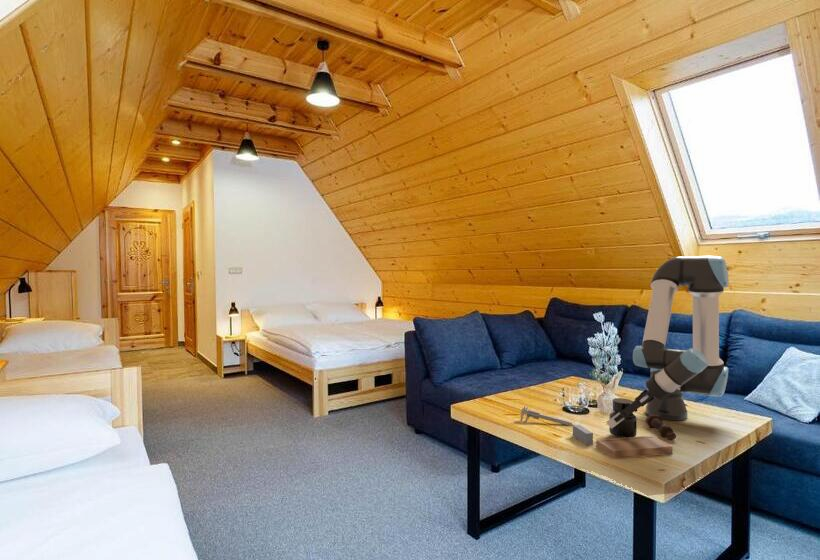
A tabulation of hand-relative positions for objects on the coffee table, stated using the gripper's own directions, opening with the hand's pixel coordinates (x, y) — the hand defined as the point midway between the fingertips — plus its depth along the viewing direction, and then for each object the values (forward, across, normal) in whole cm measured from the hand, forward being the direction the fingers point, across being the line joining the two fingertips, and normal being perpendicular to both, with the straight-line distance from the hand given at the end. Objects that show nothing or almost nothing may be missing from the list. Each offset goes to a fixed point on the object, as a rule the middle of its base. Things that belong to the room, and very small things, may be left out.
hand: (613, 421), depth 172 cm
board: (-3, -10, -10) cm, 15 cm away
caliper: (+21, -2, +13) cm, 25 cm away
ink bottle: (+1, 0, -5) cm, 5 cm away
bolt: (-5, +12, -13) cm, 19 cm away
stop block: (+8, -12, +1) cm, 14 cm away
